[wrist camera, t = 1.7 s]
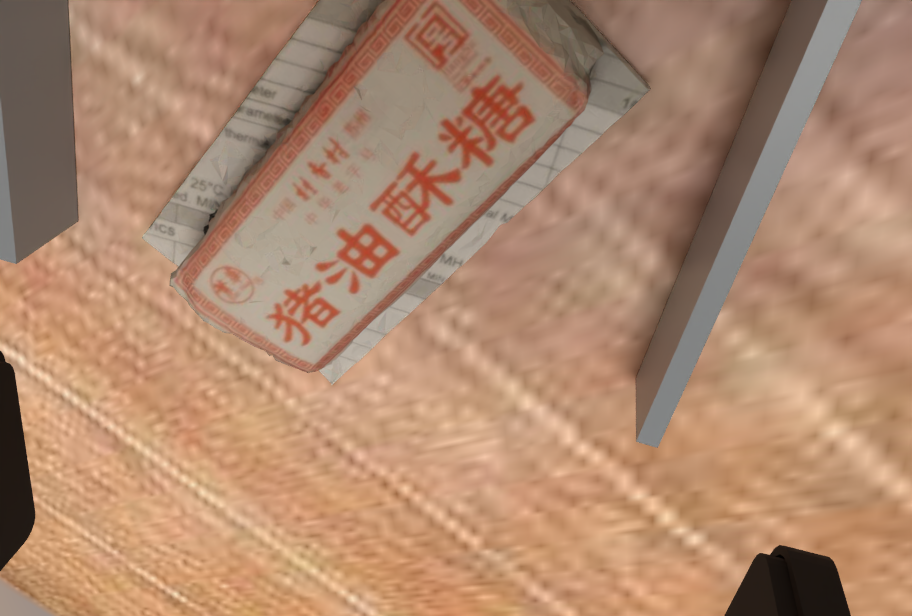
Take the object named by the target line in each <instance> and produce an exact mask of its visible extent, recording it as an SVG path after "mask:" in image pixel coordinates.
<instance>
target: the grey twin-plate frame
mask: <svg viewBox="0 0 912 616" xmlns="http://www.w3.org/2000/svg"><path fill="white" fill-rule="evenodd" d="M861 1H862V0H791V2H790V5H789V7H788V10H787V12H786V15H785V17H784V19H783V22H782V24H781V27H780V29H779V32H778V34H777V36H776V39H775V41H774V44H773V46H772V49H771V51H770V53H769V56H768V58H767V61H766V63H765V66H764V68H763V70H762V73H761V75H760V78H759V80H758V83H757V85H756V87H755V90H754V92H753V95H752V97H751V100H750V102H749V104H748V107H747V109H746V112H745V114H744V117H743V119H742V122H741V124H740V126H739V129H738V131H737V134H736V136H735V139H734V141H733V143H732V146H731V148H730V151H729V153H728V156H727V158H726V160H725V163H724V165H723V168H722V170H721V173H720V175H719V177H718V180H717V182H716V185H715V187H714V190H713V192H712V194H711V197H710V199H709V202H708V204H707V207H706V209H705V211H704V214H703V216H702V219H701V221H700V224H699V226H698V228H697V231H696V233H695V236H694V238H693V241H692V243H691V245H690V248H689V250H688V253H687V255H686V258H685V260H684V262H683V265H682V267H681V270H680V272H679V275H678V277H677V279H676V282H675V284H674V287H673V289H672V292H671V294H670V296H669V299H668V301H667V304H666V306H665V309H664V311H663V313H662V316H661V318H660V321H659V323H658V326H657V328H656V330H655V333H654V335H653V338H652V340H651V343H650V345H649V347H648V350H647V352H646V355H645V357H644V360H643V362H642V364H641V367H640V369H639V372H638V374H637V377H636V442H639V443H643V444H646V445H650V446H653V447H657V448H658V446H659V444H660V442H661V439H662V437H663V435H664V433H665V431H666V428H667V426H668V424H669V422H670V420H671V417H672V415H673V413H674V411H675V409H676V406H677V404H678V402H679V400H680V398H681V396H682V393H683V391H684V389H685V387H686V385H687V382H688V380H689V378H690V376H691V374H692V371H693V369H694V367H695V365H696V363H697V360H698V358H699V356H700V354H701V352H702V349H703V347H704V345H705V343H706V341H707V339H708V336H709V334H710V332H711V330H712V328H713V325H714V323H715V321H716V319H717V317H718V314H719V312H720V310H721V308H722V306H723V303H724V301H725V299H726V297H727V295H728V293H729V290H730V288H731V286H732V284H733V282H734V279H735V277H736V275H737V273H738V271H739V268H740V266H741V264H742V262H743V260H744V257H745V255H746V253H747V251H748V249H749V247H750V244H751V242H752V240H753V238H754V236H755V233H756V231H757V229H758V227H759V225H760V222H761V220H762V218H763V216H764V214H765V211H766V209H767V207H768V205H769V203H770V200H771V198H772V196H773V194H774V192H775V190H776V187H777V185H778V183H779V181H780V179H781V176H782V174H783V172H784V170H785V168H786V165H787V163H788V161H789V159H790V157H791V154H792V152H793V150H794V148H795V146H796V144H797V141H798V139H799V137H800V135H801V133H802V130H803V128H804V126H805V124H806V122H807V119H808V117H809V115H810V113H811V111H812V108H813V106H814V104H815V102H816V100H817V98H818V95H819V93H820V91H821V89H822V87H823V84H824V82H825V80H826V78H827V76H828V73H829V71H830V69H831V67H832V65H833V62H834V60H835V58H836V56H837V54H838V51H839V49H840V47H841V45H842V43H843V41H844V38H845V36H846V34H847V32H848V30H849V27H850V25H851V23H852V21H853V19H854V16H855V14H856V12H857V10H858V8H859V5H860V3H861ZM76 222H78V207H77V186H76V165H75V144H74V123H73V102H72V81H71V59H70V38H69V17H68V0H0V259H1V260H4V261H8V262H11V263H15V264H17V263H19V262H20V261H21V260H23V259H24V258H26V257H27V256H29V255H30V254H31V253H33V252H34V251H36V250H37V249H39V248H40V247H42V246H43V245H44V244H46V243H47V242H49V241H50V240H52V239H53V238H55V237H56V236H57V235H59V234H60V233H62V232H63V231H65V230H66V229H67V228H69V227H70V226H72V225H73V224H75V223H76Z"/></svg>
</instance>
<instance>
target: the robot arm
mask: <svg viewBox="0 0 912 616" xmlns="http://www.w3.org/2000/svg"><path fill="white" fill-rule="evenodd" d="M34 521H35V508H34V501H33V494H32V488H31V481H30V474H29V467H28V460H27V454H26V447H25V440H24V433H23V427H22V420H21V413H20V406H19V399H18V393H17V386H16V379H15V373H14V369H13V367H12V366H11V365H10V364H9V363H6V362H5V358H4V355H3V353H2V352H1V351H0V571H1V570H2V568H3V567H4V566H5V565H6V564H7V563H8V561H9V560H10V559H11V558H12V557H13V556H14V554H15V553H16V552H17V551H18V550H19V549H20V547H21V546H22V545H23V544H24V542H25V541H26V540H27V538H28V537H29V535H30V533H31V531H32V528H33V525H34ZM725 616H851V615H850V611H849V608H848V605H847V601H846V598H845V594H844V591H843V588H842V584H841V581H840V578H839V574H838V571H837V568H836V566H835V563H834V561H833V560H832V559H831V558H830V557H826V556H822V555H818V554H814V553H810V552H806V551H803V550H799V549H795V548H791V547H787V546H781V545H779V546H777V547H776V548H775V549H774V550H773V552H772V553H771V554H770V555H767V554H763V553H759V554H758V555H757V556H756V557H755V559H754V560H753V562H752V564H751V566H750V568H749V570H748V572H747V574H746V575H745V577H744V579H743V581H742V583H741V585H740V587H739V589H738V591H737V593H736V595H735V596H734V598H733V600H732V602H731V604H730V606H729V608H728V610H727V612H726V614H725Z"/></svg>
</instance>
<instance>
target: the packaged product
mask: <svg viewBox="0 0 912 616" xmlns="http://www.w3.org/2000/svg"><path fill="white" fill-rule="evenodd" d="M650 89H651V88H650V86H649V85H648V84H647V83H646V82H645V81H644V80H643V79H642V78H641V77H640V76H639V74H638V73H637V72H636V71H635V70H634V69H633V68H632V67H631V66H630V65H629V64H628V62H627V61H626V60H625V59H624V58H623V57H622V56H621V55H620V54H619V53H618V52H617V50H616V49H615V48H614V47H613V46H612V45H611V44H610V43H609V42H608V41H607V40H606V38H605V37H604V36H603V35H602V34H601V33H600V32H599V31H598V30H597V29H596V28H595V26H594V25H593V24H592V23H591V22H590V21H589V20H588V19H587V18H586V17H585V16H584V14H583V13H582V12H581V11H580V10H579V9H578V8H577V7H576V6H575V5H574V4H573V3H571V2H570V1H569V0H319V1H318V2H317V4H316V5H315V6H314V8H313V9H312V10H311V12H310V13H309V14H308V16H307V17H306V18H305V20H304V21H303V22H302V24H301V25H300V26H299V28H298V29H297V30H296V32H295V33H294V34H293V36H292V37H291V38H290V40H289V41H288V42H287V43H286V45H285V46H284V47H283V49H282V50H281V51H280V53H279V54H278V55H277V57H276V58H275V59H274V61H273V62H272V63H271V65H270V66H269V67H268V69H267V70H266V71H265V73H264V74H263V76H262V77H261V78H260V80H259V81H258V82H257V84H256V85H255V86H254V88H253V89H252V91H251V92H250V93H249V95H248V96H247V97H246V99H245V100H244V102H243V103H242V104H241V106H240V107H239V108H238V110H237V111H236V113H235V114H234V115H233V117H232V118H231V119H230V121H229V122H228V124H227V125H226V126H225V127H224V129H223V130H222V132H221V133H220V135H219V136H218V138H217V139H216V140H215V142H214V143H213V144H212V145H211V147H210V148H209V149H208V150H207V152H206V153H205V154H204V156H203V157H202V158H201V160H200V161H199V162H198V164H197V165H196V166H195V168H194V169H193V170H192V172H191V173H190V174H189V176H188V177H187V178H186V180H185V181H184V182H183V184H182V185H181V186H180V188H179V189H178V190H177V191H176V193H175V194H174V195H173V197H172V198H171V200H170V201H169V202H168V204H167V205H166V206H165V207H164V209H163V210H162V212H161V213H160V214H159V216H158V217H157V218H156V220H155V221H154V222H153V223H152V225H151V226H150V227H149V229H148V230H147V231H146V233H145V234H144V235H143V237H142V238H143V239H144V240H145V241H146V242H147V243H149V244H150V245H151V246H153V247H154V248H155V249H156V250H158V251H159V252H160V253H161V254H163V255H164V256H165V257H166V258H168V259H169V260H170V261H172V262H173V263H174V264H176V265H177V266H179V267H178V268H177V270H176V271H174V272H173V273H171V278H170V286H172V287H174V288H175V290H176V291H177V292H178V293H179V294H180V295H181V296H182V297H183V298H184V299H185V300H187V302H188V304H189V305H190V307H191V308H192V309H193V310H194V311H195V312H196V313H197V314H198V315H199V316H200V318H201V319H202V320H203V321H205V322H207V323H209V324H210V325H212V326H213V327H215V328H217V329H218V330H220V331H222V332H224V333H232V334H233V335H235V336H236V337H238V338H239V339H241V340H243V341H245V342H247V343H249V344H251V345H253V346H254V347H257V348H259V349H262V350H264V351H266V352H267V354H268V355H269V356H270V355H273V357H274V358H275V360H276V361H278V362H281V363H283V364H286V365H289V366H291V367H294V368H297V369H300V370H302V371H305V372H307V373H310V372H315V371H320V372H321V373H322V374H323V375H324V376H325V377H326V378H327V379H328V381H329V382H330V383H331V384H332V385H333V384H334V383H335V382H336V381H337V380H338V379H339V378H340V377H341V376H342V375H343V374H344V373H345V372H346V371H347V370H349V369H350V368H351V367H352V366H353V365H354V364H355V363H357V362H358V361H359V360H361V359H362V358H363V357H364V356H365V355H366V354H367V353H368V352H369V351H370V350H371V349H372V348H373V347H374V346H375V345H376V344H377V343H378V342H379V341H380V340H381V339H382V338H383V337H384V336H385V335H386V334H387V333H388V332H390V331H391V330H392V329H393V328H394V327H395V326H396V325H397V324H399V323H400V322H401V321H402V320H403V319H404V318H405V317H406V316H408V315H409V314H410V313H411V312H412V311H413V310H414V309H415V308H416V307H417V306H418V305H419V304H421V303H422V302H423V301H424V300H425V299H426V298H427V297H428V296H429V295H430V294H431V293H432V292H433V291H435V290H436V289H437V288H438V287H439V286H440V285H441V284H442V283H443V282H444V281H445V280H446V279H447V278H448V277H449V276H450V275H451V274H453V273H454V272H455V271H456V270H457V269H458V268H459V267H460V266H462V265H463V264H464V263H465V262H466V261H467V260H468V259H470V258H471V257H472V256H473V255H474V254H475V253H476V252H477V251H478V250H479V249H480V248H481V247H482V246H483V245H484V244H485V243H486V242H487V241H488V240H489V238H490V237H491V236H492V235H493V233H494V232H495V231H496V230H497V228H498V227H499V226H500V225H501V224H504V223H507V222H508V221H509V220H510V219H511V218H512V217H514V216H515V215H516V214H517V213H518V212H519V211H520V210H521V209H522V208H523V207H524V206H525V205H527V204H528V203H529V202H530V201H532V200H533V199H534V198H535V197H536V196H537V195H538V194H539V193H540V192H541V191H542V190H543V189H544V188H545V187H546V186H547V185H548V184H549V183H550V182H551V181H552V180H553V179H554V178H555V177H556V176H557V175H558V174H559V173H560V172H561V171H562V170H563V169H564V168H566V167H567V166H568V165H569V164H570V163H572V162H573V161H574V160H575V159H576V158H577V157H578V156H579V155H580V154H581V153H583V152H584V151H585V150H586V149H587V148H588V147H589V146H590V145H591V144H593V143H594V142H595V141H596V140H597V139H598V138H599V137H600V136H601V135H602V134H603V133H604V132H605V131H606V130H607V129H608V128H609V127H610V126H612V125H613V124H614V123H615V122H616V121H617V120H618V119H620V118H621V117H622V116H623V115H624V114H625V113H626V112H627V111H628V110H629V109H631V108H632V107H633V106H634V105H635V104H636V103H637V102H638V101H639V100H640V99H641V98H642V97H643V96H644V95H645V94H646V93H647V92H648V91H649V90H650Z"/></svg>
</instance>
